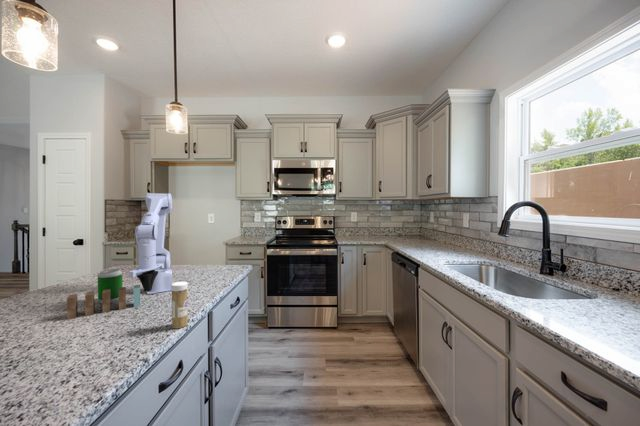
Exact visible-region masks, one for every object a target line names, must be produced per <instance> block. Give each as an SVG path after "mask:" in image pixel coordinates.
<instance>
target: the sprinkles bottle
mask: <svg viewBox="0 0 640 426" xmlns="http://www.w3.org/2000/svg"><path fill="white" fill-rule="evenodd" d="M188 287H189V286H188V281H176V282H173V284H171V318H172V319H171V327H172V329H181V328H184V327H186V326H187V325H188V324H189V322H188V314H189V312H188V311H189V309H188V306H189V305H188Z"/></svg>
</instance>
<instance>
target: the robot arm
mask: <svg viewBox="0 0 640 426" xmlns="http://www.w3.org/2000/svg"><path fill="white" fill-rule="evenodd" d="M172 196H173V195H172V194H171V193H170V192H169V193H154V192H153V193H152V192H151V193H150V192H147V193H146V194H145V200H144V201H145V205H146V208H147V212H145V213H144V214H143V216H142V219H141V221H140V225H137V226H136V227H135V231H134V232H135V233H134V234H135V239H136V245H137V254H138V255H137V258H138V259H137V263H138V265H137V267H136V268H135V269H133V270H130V271H128V278H135V277H137V279H138V280H139V281H140V283H141V285H142V288H143V292H146V294H147V295H152V294H157V293H163V292H169V291H171V284H173V283H174V282H173V271H172V269H171V253H170V251H169V250H167V249H166V248H165V236H166V235H165V234H166V223H167V222H166V221H167V216H168V214H170V213H172V210H173V197H172Z"/></svg>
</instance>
